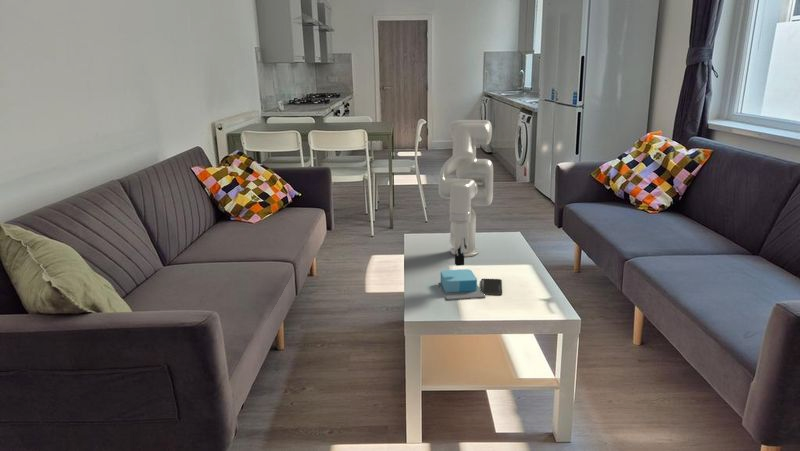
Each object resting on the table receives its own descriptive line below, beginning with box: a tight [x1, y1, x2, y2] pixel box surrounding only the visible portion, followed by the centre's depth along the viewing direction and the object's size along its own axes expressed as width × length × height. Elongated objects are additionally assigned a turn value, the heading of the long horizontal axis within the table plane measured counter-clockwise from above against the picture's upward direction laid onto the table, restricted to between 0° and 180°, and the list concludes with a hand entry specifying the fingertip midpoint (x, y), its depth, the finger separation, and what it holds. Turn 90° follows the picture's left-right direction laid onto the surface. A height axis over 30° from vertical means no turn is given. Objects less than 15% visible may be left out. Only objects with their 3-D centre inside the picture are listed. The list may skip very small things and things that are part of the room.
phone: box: [480, 278, 503, 296], centre depth 204 cm, size 8×1×15 cm
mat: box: [437, 282, 486, 301], centre depth 201 cm, size 16×14×1 cm
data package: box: [440, 268, 478, 293], centre depth 204 cm, size 12×4×12 cm
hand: (459, 264), depth 202 cm, fingers closed
